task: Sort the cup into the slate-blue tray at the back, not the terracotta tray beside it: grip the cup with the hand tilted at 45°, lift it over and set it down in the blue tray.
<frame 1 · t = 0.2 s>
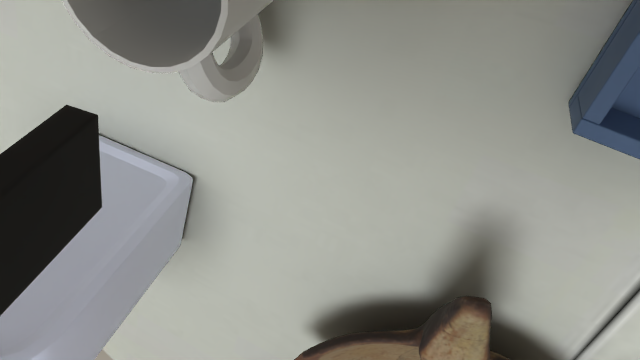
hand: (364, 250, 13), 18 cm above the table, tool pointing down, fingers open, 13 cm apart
soap bottle: (133, 178, 39), on the table
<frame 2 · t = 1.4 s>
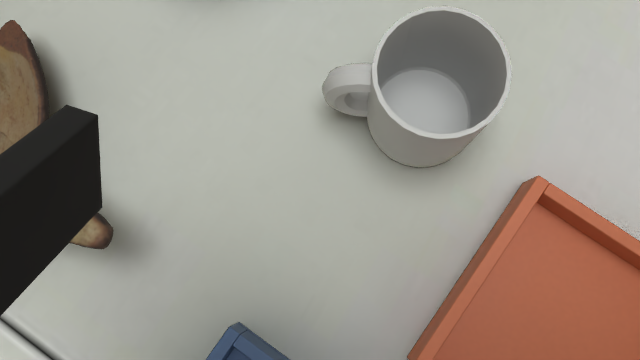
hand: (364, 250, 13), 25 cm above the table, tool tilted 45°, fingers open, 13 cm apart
terracotta tray: (557, 331, 36), on the table
cup: (398, 115, 39), on the table
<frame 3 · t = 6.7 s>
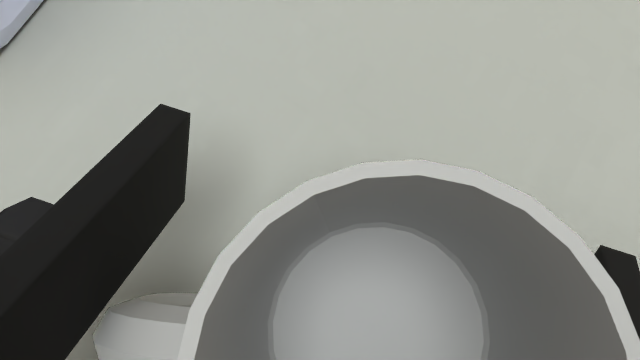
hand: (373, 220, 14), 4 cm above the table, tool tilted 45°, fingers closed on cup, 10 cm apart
cup: (331, 326, 18), on the table, touching gripper
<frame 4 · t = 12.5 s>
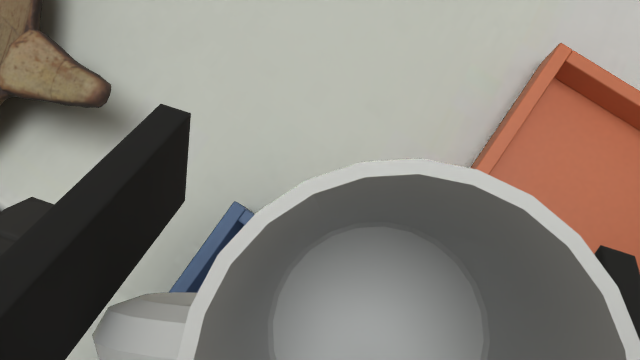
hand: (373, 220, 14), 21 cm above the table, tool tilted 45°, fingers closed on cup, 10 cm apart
terracotta tray: (579, 212, 34), on the table
cup: (331, 326, 18), point 16 cm above the table, touching gripper
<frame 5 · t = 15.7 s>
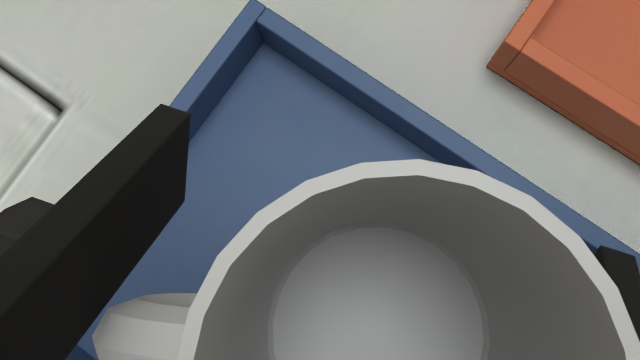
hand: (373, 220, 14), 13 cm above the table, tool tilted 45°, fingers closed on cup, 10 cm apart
cup: (331, 326, 18), point 8 cm above the table, touching gripper
blue tray: (339, 308, 26), on the table
when the fingers open (5 cm above the table, at t = 18.3 s): cup stays where it is, resting on blue tray.
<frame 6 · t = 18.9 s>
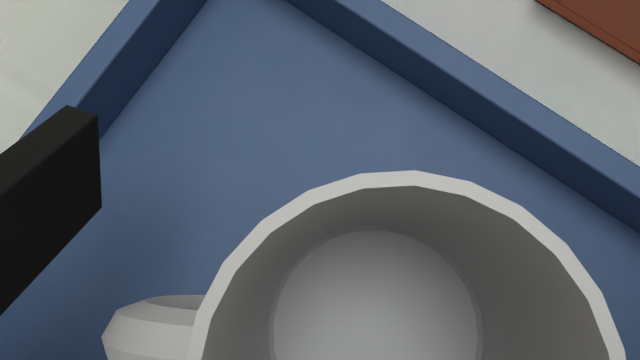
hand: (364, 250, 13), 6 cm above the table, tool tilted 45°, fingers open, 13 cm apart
cup: (330, 326, 18), resting on blue tray
blue tray: (334, 325, 19), on the table
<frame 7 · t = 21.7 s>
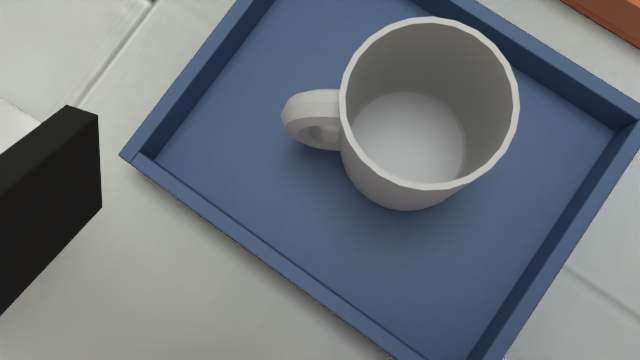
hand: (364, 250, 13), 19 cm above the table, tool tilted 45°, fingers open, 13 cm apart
cup: (379, 147, 32), resting on blue tray
blue tray: (381, 148, 32), on the table
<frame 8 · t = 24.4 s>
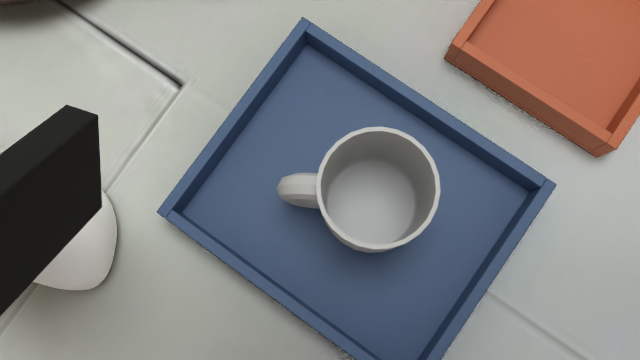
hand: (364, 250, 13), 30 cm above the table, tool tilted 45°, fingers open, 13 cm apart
terracotta tray: (567, 37, 44), on the table
torso sculpture: (46, 227, 44), on the table
cup: (352, 202, 42), resting on blue tray
blue tray: (353, 203, 43), on the table
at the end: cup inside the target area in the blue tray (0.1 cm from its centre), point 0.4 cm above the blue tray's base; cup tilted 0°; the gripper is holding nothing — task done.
